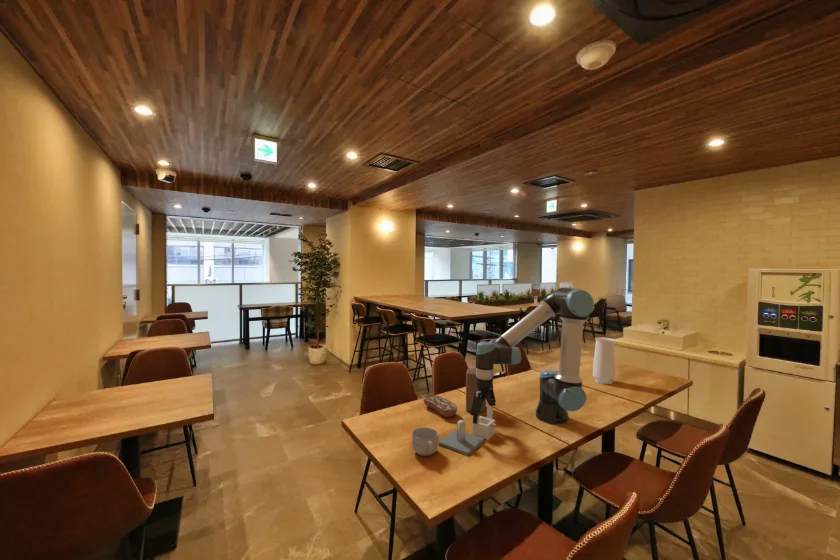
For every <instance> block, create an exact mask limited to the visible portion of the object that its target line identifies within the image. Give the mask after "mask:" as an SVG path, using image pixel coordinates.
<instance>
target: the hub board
mask: <svg viewBox="0 0 840 560" xmlns="http://www.w3.org/2000/svg"><path fill="white" fill-rule="evenodd" d="M456 423H457V424H456V426H457V428H456V429H454V430H453V431H452V432H451V433H449V434H447V435H446V436H445V437H443V438H441V439H440V440H438V446H441V447H442V448H446V449H449V450H451V451H455V452H457V453H460V454H462V455H465V456H469V455H471V453H473V452H474V451H475V450H476V449H477V448H479V446H481V445H482V444H483V443H484V442H485V439H484V438H480V437H477V436H474V435H473V434H471V433H467V432H466V420H464V419H459V420H457V422H456Z"/></svg>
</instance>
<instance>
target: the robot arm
mask: <svg viewBox="0 0 840 560" xmlns="http://www.w3.org/2000/svg"><path fill="white" fill-rule="evenodd" d="M594 308H595V302H594V298H593V296H592V295H591V294H590V293H589V292H588V291H586V290H583V289H581V288H571V287H561V288H557V289H555V290H554V291H552V292H551V293H549V294H548V295H547V296H546V297H544V298H542V300H540V301H539V305H538V306H536V307H535V308H534V309H533V310H531V311H530V312H529V313H527V315H525V316H524V317H523V318H521V319H520V320H519V321H518V322H517V323H515V324H514V325H513V326H511V327H510V328H509V329H508V330H507V331H505V332H504V333H503V334H501V335H500V336H499V337H498V338H496V339H494V338H493V339H491V340H490V341H480V342H478V343H476V351H475V352H476V353H475V354H476V356H475V357H476V358H475V359H476V363H475V365H476V367H475V369H476V376H477V377H476V386H477V387H478V388H479V389H478V392H476V391H475V392H474V399H473V404H472V408H471V411H469V415H470V416H472V431H473V430H475V431H479V417H480V415H479V414H480V413H481V412H480V409H481V406H482V403H483V402H484V401H485V399H486V403H487V404H486V418H489V419H493V420H494V407H495V406H496V397H495V391H494V379H493V378H494V365H518V364H520V363H521V361H522V352H521V349H520V347H516V345H517V344H519V343H520V342H521V341H522V340H523V339H525V338H526V337H527V336H529V335H530V334H531V333H532V332H533V331H535V330H536V329H537V328H538V327H540V326H541V325H542V324H544V323H545V322H546V321H547V320H548V319H550V318H551V317H552V318H554V317H556V316H557V315H558V314H559V318H560V320H561V321H562V326H561V335H560V336H561V339H560V353H559V364H558V370H552V369H551V370H550V369H549V370H547V369H546V370H542V371H541V372H540V373H539V401H538V404H537V406H536V409H535V417H536V418H537V420H540V421H542V422H544V423H548V424H552V425H554V424H555V425H561V424H562V425H563V424H566V423H567V422H569V414H568V411H569V412H575V411H579V410H580V409H581V408H583V407H584V406H585V404H586V402H587V393H586V392H585V390H584V389H583V379H582V378H581V377H580V367H581V355H582V346H583V345H582V344H583V343H582V342H583V332H584V323H586V322H587V321H588V317H589V315H591V313H592V312H593V310H594Z"/></svg>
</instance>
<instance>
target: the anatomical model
mask: <svg viewBox="0 0 840 560" xmlns="http://www.w3.org/2000/svg"><path fill="white" fill-rule="evenodd" d="M422 398H423V400H422V401H423V403H424V404H425V406H426V407H427V408H429V409H433V410H434V411H437V412H438V413H440V415H442V416H444V417H445V418H452V417H454V416H455V415H456V413H457V411H458V405H456V404H455V403H454V402H452V401H451V400H448V399H447V398H445V397H442V396H439V395H437V394H436V395H435V394H426V395H424V396H423V397H422Z"/></svg>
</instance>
